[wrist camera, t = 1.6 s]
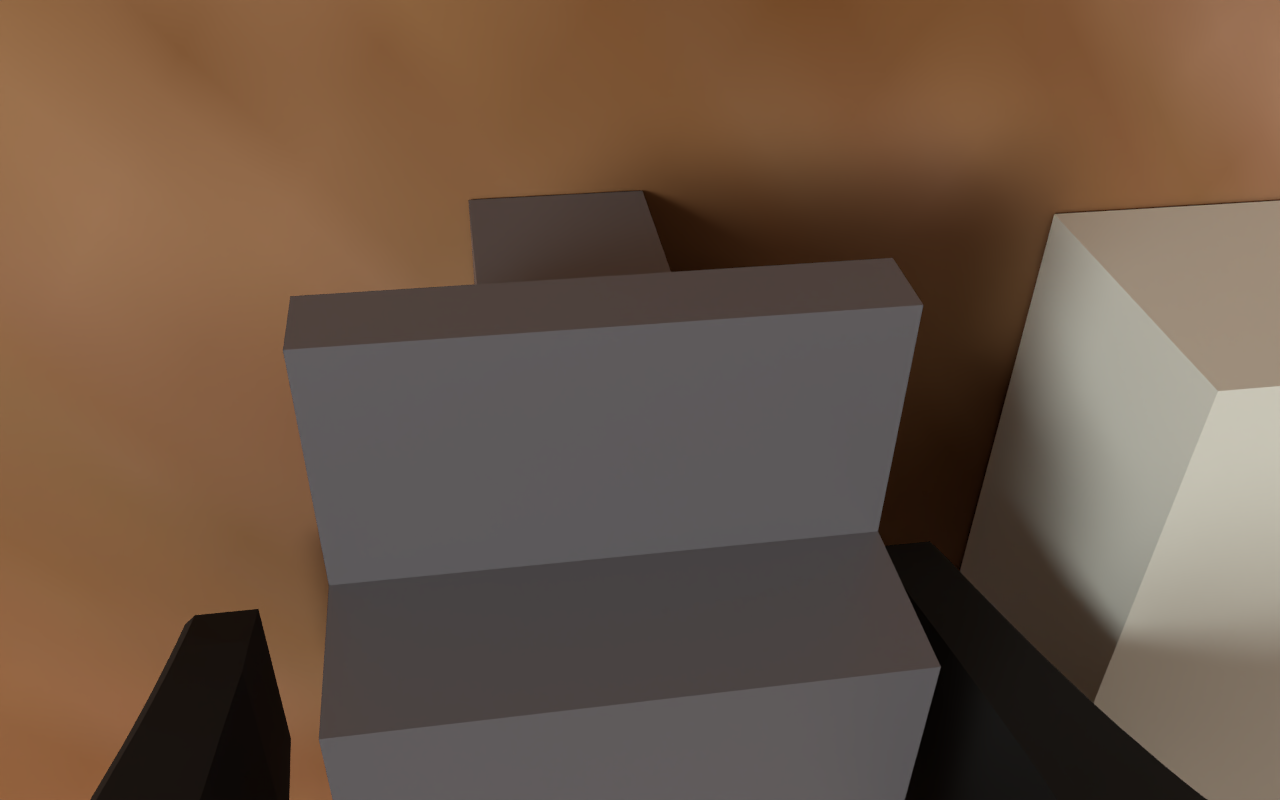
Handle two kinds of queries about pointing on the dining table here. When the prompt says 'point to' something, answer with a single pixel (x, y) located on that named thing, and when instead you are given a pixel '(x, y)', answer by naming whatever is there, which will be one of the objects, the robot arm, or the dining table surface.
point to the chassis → (1150, 483)
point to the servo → (611, 521)
